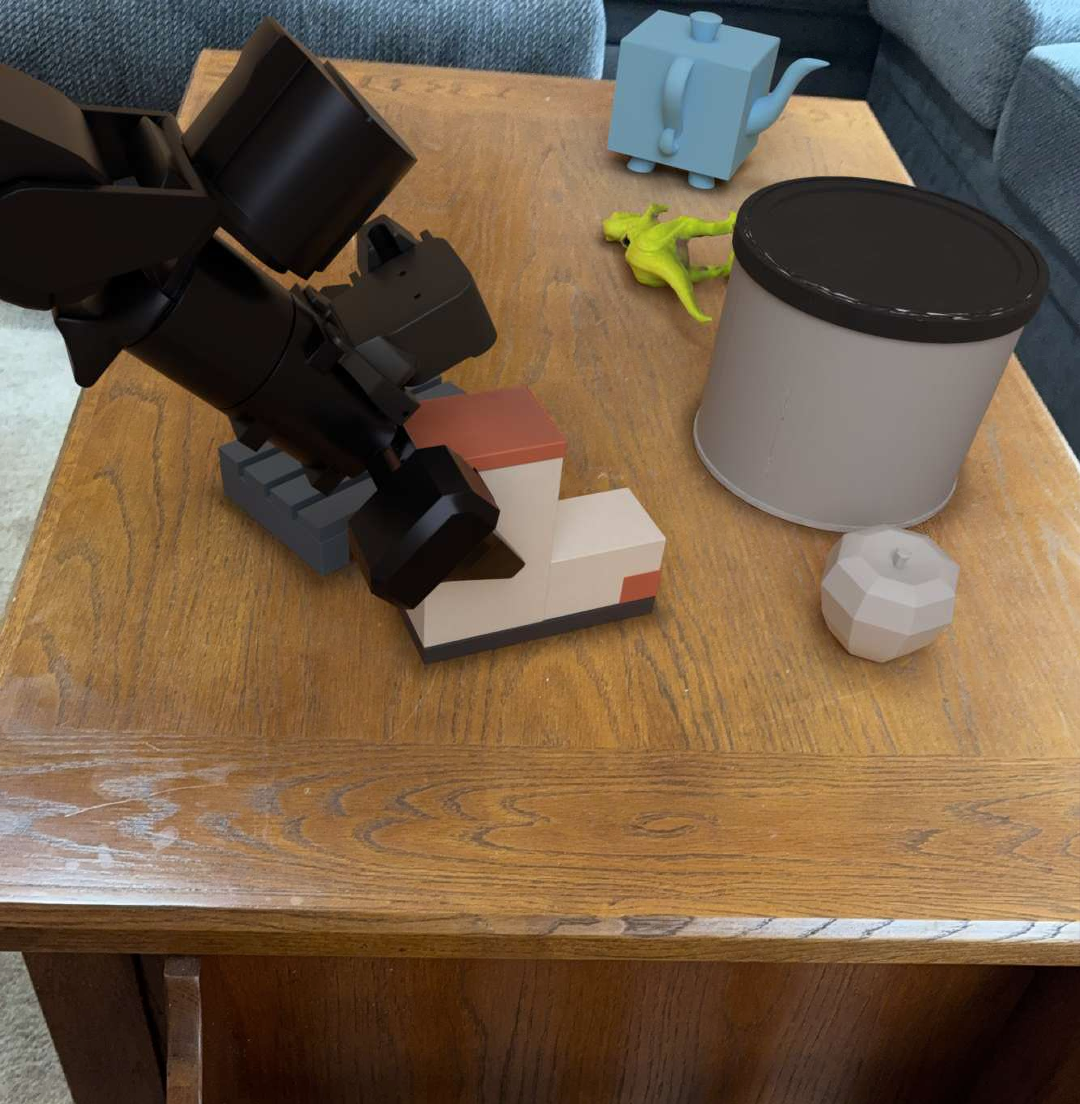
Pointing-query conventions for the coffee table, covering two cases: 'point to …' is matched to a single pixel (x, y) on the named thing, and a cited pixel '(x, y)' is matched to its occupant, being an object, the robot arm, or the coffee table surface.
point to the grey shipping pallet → (303, 495)
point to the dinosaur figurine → (668, 250)
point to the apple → (887, 591)
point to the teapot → (697, 94)
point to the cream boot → (532, 534)
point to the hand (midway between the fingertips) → (484, 514)
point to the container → (860, 348)
